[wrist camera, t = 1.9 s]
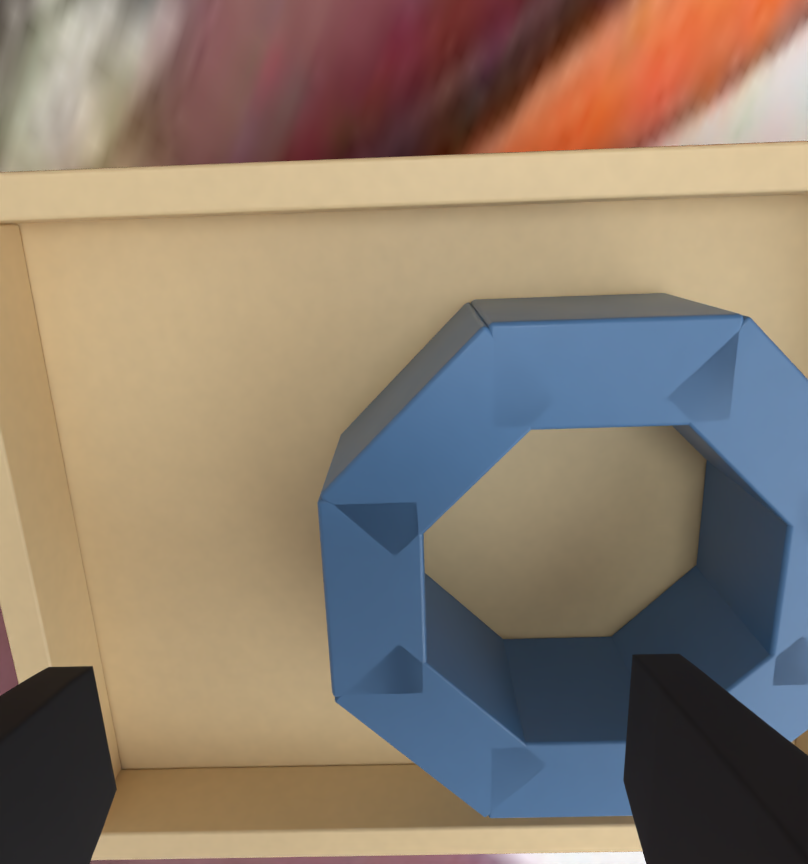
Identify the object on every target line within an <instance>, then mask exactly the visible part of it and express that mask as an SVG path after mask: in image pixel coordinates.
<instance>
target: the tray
mask: <svg viewBox="0 0 808 864" xmlns="http://www.w3.org/2000/svg"><path fill="white" fill-rule="evenodd" d="M649 293H666V294H669V295H673V296H677V297H680V298H684V299H688V300H691V301H695V302H699V303H702V304H706V305H710V306H713V307H717V308H720V309H724V310H728V311H731V312H735V313H739V314H741V315H744V316H748V317H750V318H752V320H753V321H754V322H755V323H756V324H757V325H758V326H759V327H760V328H761V329H762V330H763V331H764V332H765V334H766V335H767V336H768V337H769V338H770V339H771V340H772V341H773V342H774V343H775V344H776V345H777V347H778V348H779V349H780V350H781V351H782V352H783V353H784V354H785V355H786V356H787V357H788V358H789V359H790V361H791V362H792V363H793V364H794V365H795V366H796V367H797V368H798V369H799V370H800V371H801V372H802V374H803V375H804V376H805V377H806V378H807V379H808V141H791V142H765V143H739V144H714V145H688V146H662V147H637V148H611V149H585V150H559V151H534V152H508V153H482V154H456V155H431V156H405V157H379V158H353V159H328V160H302V161H276V162H251V163H225V164H199V165H173V166H148V167H122V168H96V169H70V170H45V171H19V172H0V606H1V610H2V614H3V619H4V623H5V627H6V632H7V636H8V640H9V645H10V649H11V653H12V657H13V662H14V666H15V670H16V675H17V679H18V683H19V684H20V683H22V682H23V681H25V680H27V679H28V678H30V677H32V676H33V675H35V674H37V673H39V672H40V671H42V670H44V669H46V668H47V667H70V666H93V670H94V675H95V680H96V685H97V690H98V695H99V700H100V705H101V711H102V716H103V721H104V726H105V731H106V736H107V741H108V746H109V752H110V757H111V762H112V767H113V772H114V777H115V782H116V787H117V790H116V793H115V796H114V799H113V801H112V804H111V807H110V810H109V813H108V815H107V818H106V821H105V824H104V827H103V830H102V832H101V835H100V838H99V840H98V843H97V845H96V848H95V850H94V853H93V856H92V858H91V860H131V859H194V858H257V857H320V856H383V855H446V854H510V853H573V852H636V851H643V850H642V847H641V844H640V840H639V837H638V833H637V830H636V826H635V823H634V819H633V816H597V817H538V818H489V816H487V817H483V816H482V815H481V814H480V813H478V812H477V811H476V810H474V809H473V808H472V807H470V806H469V805H468V804H467V803H465V802H464V801H463V800H461V799H460V798H459V797H458V796H456V795H455V794H454V793H452V792H451V791H450V790H449V789H447V788H446V787H445V786H443V785H442V784H441V783H439V782H438V781H437V780H436V779H434V778H433V777H432V776H430V775H429V774H428V773H427V772H425V771H424V770H423V769H421V768H420V767H419V766H418V765H416V764H415V763H414V762H412V761H411V760H410V759H408V758H407V757H406V756H405V755H403V754H402V753H401V752H399V751H398V750H397V749H396V748H394V747H393V746H392V745H390V744H389V743H388V742H387V741H385V740H384V739H383V738H381V737H380V736H379V735H378V734H376V733H375V732H374V731H372V730H371V729H370V728H368V727H367V726H366V725H365V724H363V723H362V722H361V721H359V720H358V719H357V718H356V717H354V716H353V715H352V714H350V713H349V712H348V711H347V710H345V709H344V708H343V707H341V706H340V705H339V704H337V703H336V702H335V696H334V695H333V693H332V686H331V673H330V660H329V648H328V635H327V622H326V609H325V596H324V583H323V570H322V557H321V544H320V531H319V518H318V505H317V502H318V500H319V497H320V494H321V491H322V488H323V485H324V482H325V479H326V476H327V473H328V470H329V468H330V465H331V462H332V459H333V456H334V453H335V450H336V447H337V444H338V442H339V439H340V436H341V434H342V433H343V432H344V431H345V430H346V429H347V428H348V427H349V426H350V424H351V423H352V422H353V421H354V420H355V419H356V418H357V417H358V416H359V415H360V414H361V413H362V412H363V411H364V410H365V409H366V408H367V407H368V405H369V404H370V403H371V402H372V401H373V400H374V399H375V398H376V397H377V396H378V395H379V394H380V393H381V392H382V391H383V390H384V389H385V388H386V387H387V385H388V384H389V383H390V382H391V381H392V380H393V379H394V378H395V377H396V376H397V375H398V374H399V373H400V372H401V371H402V370H403V369H404V368H405V367H406V365H407V364H408V363H409V362H410V361H411V360H412V359H413V358H414V357H415V356H416V355H417V354H418V353H419V352H420V351H421V350H422V349H423V348H424V347H425V345H426V344H427V343H428V342H429V341H430V340H431V339H432V338H433V337H434V336H435V335H436V334H437V333H438V332H439V331H440V330H441V329H442V328H443V327H444V325H445V324H446V323H447V322H448V321H449V320H450V319H451V318H452V317H453V316H454V315H455V314H456V313H457V312H458V311H459V310H460V309H461V308H462V307H463V305H464V304H466V303H471V302H472V301H473V300H475V299H503V298H532V297H561V296H591V295H620V294H649ZM706 462H707V460H706V459H705V458H704V457H703V456H702V455H701V454H700V453H699V452H698V451H697V450H696V449H695V448H694V447H693V446H692V445H691V444H690V443H689V442H688V441H687V440H686V439H685V438H684V437H683V436H682V435H681V434H680V433H679V432H678V431H677V430H676V429H675V428H674V427H673V426H644V427H610V428H576V429H543V430H530V431H529V432H528V433H527V434H526V435H525V436H524V437H523V438H522V439H521V440H520V441H519V442H518V443H517V444H516V445H515V446H514V447H513V448H512V449H511V450H510V451H509V452H508V453H507V454H506V455H504V456H503V457H502V458H501V459H500V460H499V461H498V462H497V463H496V464H495V465H494V466H493V467H492V468H491V469H490V470H489V471H488V472H487V473H486V474H485V475H484V476H483V477H482V478H481V479H480V480H479V481H478V482H477V483H476V484H474V485H473V486H472V487H471V488H470V489H469V490H468V491H467V492H466V493H465V494H464V495H463V496H462V497H461V498H460V499H459V500H458V501H457V502H456V503H455V504H454V505H453V506H452V507H451V508H450V509H449V510H448V511H447V512H445V513H444V514H443V515H442V516H441V517H440V518H439V519H438V520H437V521H436V522H435V523H434V524H433V525H432V526H431V527H430V528H429V529H428V530H427V531H426V532H425V533H424V565H425V573H426V574H427V575H428V576H429V577H430V578H432V579H433V580H434V581H435V582H436V583H438V584H439V585H440V586H441V587H442V588H443V589H445V590H446V591H447V592H448V593H449V594H450V595H452V596H453V597H454V598H455V599H456V600H458V601H459V602H460V603H461V604H462V605H463V606H465V607H466V608H467V609H468V610H469V611H470V612H472V613H473V614H474V615H475V616H476V617H478V618H479V619H480V620H481V621H482V622H483V623H485V624H486V625H487V626H488V627H489V628H490V629H492V630H493V631H494V632H495V633H496V634H498V635H499V636H500V637H501V638H502V639H529V638H572V637H611V636H613V635H614V634H615V633H616V632H617V631H618V630H620V629H621V628H622V627H623V626H624V625H626V624H627V623H628V622H629V621H630V620H632V619H633V618H634V617H635V616H636V615H637V614H639V613H640V612H641V611H642V610H643V609H645V608H646V607H647V606H648V605H649V604H650V603H652V602H653V601H654V600H655V599H656V598H658V597H659V596H660V595H661V594H662V593H664V592H665V591H666V590H667V589H668V588H669V587H671V586H672V585H673V584H674V583H675V582H677V581H678V580H679V579H680V578H681V577H682V576H684V575H685V574H686V573H687V572H688V571H690V570H691V569H692V568H693V567H694V566H696V564H697V554H698V544H699V533H700V523H701V513H702V503H703V493H704V482H705V472H706ZM791 743H793V744H794V745H795V746H796V747H798V748H799V749H800V750H802V751H803V752H804V753H805V754H807V755H808V730H807V731H806V732H804V733H803V734H801V735H800V736H799V737H797V738H796V739H795V740H793V741H792V742H791Z"/></svg>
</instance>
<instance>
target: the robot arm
mask: <svg viewBox="0 0 808 864" xmlns="http://www.w3.org/2000/svg"><path fill="white" fill-rule="evenodd" d="M623 781H624V785H625V789H626V793H627V796H628V800H629V804H630V808H631V811H632V815H633V819H634V823H635V826H636V830H637V833H638V837H639V840H640V844H641V847H642V850H643V854H644V857H645V861H646V864H808V755H807V754H805V753H804V752H803V751H802V750H800V749H799V748H798V747H796V746H795V745H794V744H793V743H791V742H790V741H789V740H787V739H786V738H785V737H784V736H782V735H781V734H780V733H779V732H777V731H776V730H775V729H773V728H772V727H771V726H770V725H768V724H767V723H766V722H765V721H763V720H762V719H761V718H760V717H758V716H757V715H756V714H755V713H753V712H752V711H751V710H750V709H748V708H747V707H746V706H745V705H743V704H742V703H741V702H740V701H738V700H737V699H736V698H735V697H734V696H732V695H731V694H730V693H729V692H727V691H726V690H725V689H724V688H722V687H721V686H720V685H719V684H717V683H716V682H715V681H714V680H713V679H711V678H710V677H709V676H708V675H706V674H705V673H704V672H703V671H701V670H700V669H699V668H698V667H696V666H695V665H694V664H692V663H691V662H690V661H688V660H687V659H686V658H684V657H683V656H682V655H680V654H634V655H632V667H631V681H630V694H629V708H628V722H627V736H626V750H625V764H624V778H623ZM116 790H117V787H116V782H115V777H114V772H113V767H112V762H111V757H110V752H109V746H108V741H107V736H106V731H105V726H104V721H103V716H102V711H101V705H100V700H99V695H98V690H97V685H96V680H95V675H94V670H93V666H70V667H47V668H46V669H44V670H42V671H40V672H39V673H37V674H35V675H33V676H32V677H30V678H28V679H27V680H25V681H23V682H22V683H20V684H19V685H17V686H15V687H14V688H12V689H11V690H9V691H7V692H6V693H4V694H3V695H1V696H0V864H89V863H90V861H91V858H92V856H93V853H94V850H95V848H96V845H97V843H98V840H99V838H100V835H101V832H102V830H103V827H104V824H105V821H106V818H107V815H108V813H109V810H110V807H111V804H112V801H113V799H114V796H115V793H116Z"/></svg>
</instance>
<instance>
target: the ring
mask: <svg viewBox="0 0 808 864" xmlns="http://www.w3.org/2000/svg"><path fill="white" fill-rule="evenodd" d="M644 426H673V427H674V428H675V429H676V430H677V431H678V432H679V433H680V434H681V435H682V436H683V437H684V438H685V439H686V440H687V441H688V442H689V443H690V444H691V445H692V446H693V447H694V448H695V449H696V450H697V451H698V452H699V453H700V454H701V455H702V456H703V457H704V458H705V459H706V460H707V462H706V472H705V482H704V493H703V503H702V513H701V523H700V533H699V544H698V554H697V564H696V566H694V567H693V568H692V569H691V570H690V571H688V572H687V573H686V574H685V575H684V576H682V577H681V578H680V579H679V580H678V581H677V582H675V583H674V584H673V585H672V586H671V587H669V588H668V589H667V590H666V591H665V592H664V593H662V594H661V595H660V596H659V597H658V598H656V599H655V600H654V601H653V602H652V603H650V604H649V605H648V606H647V607H646V608H645V609H643V610H642V611H641V612H640V613H639V614H637V615H636V616H635V617H634V618H633V619H632V620H630V621H629V622H628V623H627V624H626V625H624V626H623V627H622V628H621V629H620V630H618V631H617V632H616V633H615V634H614V635H613V636H611V637H572V638H529V639H502V638H501V637H500V636H499V635H498V634H496V633H495V632H494V631H493V630H492V629H490V628H489V627H488V626H487V625H486V624H485V623H483V622H482V621H481V620H480V619H479V618H478V617H476V616H475V615H474V614H473V613H472V612H470V611H469V610H468V609H467V608H466V607H465V606H463V605H462V604H461V603H460V602H459V601H458V600H456V599H455V598H454V597H453V596H452V595H450V594H449V593H448V592H447V591H446V590H445V589H443V588H442V587H441V586H440V585H439V584H438V583H436V582H435V581H434V580H433V579H432V578H430V577H429V576H428V575H427V574H426V573H425V565H424V533H425V532H426V531H427V530H428V529H429V528H430V527H431V526H432V525H433V524H434V523H435V522H436V521H437V520H438V519H439V518H440V517H441V516H442V515H443V514H444V513H445V512H447V511H448V510H449V509H450V508H451V507H452V506H453V505H454V504H455V503H456V502H457V501H458V500H459V499H460V498H461V497H462V496H463V495H464V494H465V493H466V492H467V491H468V490H469V489H470V488H471V487H472V486H473V485H474V484H476V483H477V482H478V481H479V480H480V479H481V478H482V477H483V476H484V475H485V474H486V473H487V472H488V471H489V470H490V469H491V468H492V467H493V466H494V465H495V464H496V463H497V462H498V461H499V460H500V459H501V458H502V457H503V456H504V455H506V454H507V453H508V452H509V451H510V450H511V449H512V448H513V447H514V446H515V445H516V444H517V443H518V442H519V441H520V440H521V439H522V438H523V437H524V436H525V435H526V434H527V433H528V432H529V431H530V430H543V429H576V428H610V427H644ZM317 505H318V518H319V531H320V544H321V557H322V570H323V583H324V596H325V609H326V622H327V635H328V648H329V660H330V673H331V686H332V693H333V695H334V696H335V702H336V703H337V704H339V705H340V706H341V707H343V708H344V709H345V710H347V711H348V712H349V713H350V714H352V715H353V716H354V717H356V718H357V719H358V720H359V721H361V722H362V723H363V724H365V725H366V726H367V727H368V728H370V729H371V730H372V731H374V732H375V733H376V734H378V735H379V736H380V737H381V738H383V739H384V740H385V741H387V742H388V743H389V744H390V745H392V746H393V747H394V748H396V749H397V750H398V751H399V752H401V753H402V754H403V755H405V756H406V757H407V758H408V759H410V760H411V761H412V762H414V763H415V764H416V765H418V766H419V767H420V768H421V769H423V770H424V771H425V772H427V773H428V774H429V775H430V776H432V777H433V778H434V779H436V780H437V781H438V782H439V783H441V784H442V785H443V786H445V787H446V788H447V789H449V790H450V791H451V792H452V793H454V794H455V795H456V796H458V797H459V798H460V799H461V800H463V801H464V802H465V803H467V804H468V805H469V806H470V807H472V808H473V809H474V810H476V811H477V812H478V813H480V814H481V815H482V816H483V817H487V816H489V818H538V817H597V816H633V815H632V811H631V808H630V804H629V800H628V796H627V793H626V789H625V785H624V781H623V778H624V764H625V750H626V736H627V722H628V708H629V694H630V681H631V667H632V655H634V654H680V655H682V656H683V657H684V658H686V659H687V660H688V661H690V662H691V663H692V664H694V665H695V666H696V667H698V668H699V669H700V670H701V671H703V672H704V673H705V674H706V675H708V676H709V677H710V678H711V679H713V680H714V681H715V682H716V683H717V684H719V685H720V686H721V687H722V688H724V689H725V690H726V691H727V692H729V693H730V694H731V695H732V696H734V697H735V698H736V699H737V700H738V701H740V702H741V703H742V704H743V705H745V706H746V707H747V708H748V709H750V710H751V711H752V712H753V713H755V714H756V715H757V716H758V717H760V718H761V719H762V720H763V721H765V722H766V723H767V724H768V725H770V726H771V727H772V728H773V729H775V730H776V731H777V732H779V733H780V734H781V735H782V736H784V737H785V738H786V739H787V740H789V741H790V742H792V741H793V740H795V739H796V738H797V737H799V736H800V735H801V734H803V733H804V732H806V731H807V730H808V379H807V378H806V377H805V376H804V375H803V374H802V372H801V371H800V370H799V369H798V368H797V367H796V366H795V365H794V364H793V363H792V362H791V361H790V359H789V358H788V357H787V356H786V355H785V354H784V353H783V352H782V351H781V350H780V349H779V348H778V347H777V345H776V344H775V343H774V342H773V341H772V340H771V339H770V338H769V337H768V336H767V335H766V334H765V332H764V331H763V330H762V329H761V328H760V327H759V326H758V325H757V324H756V323H755V322H754V321H753V320H752V318H750V317H748V316H744V315H741V314H739V313H735V312H731V311H728V310H724V309H720V308H717V307H713V306H710V305H706V304H702V303H699V302H695V301H691V300H688V299H684V298H680V297H677V296H673V295H669V294H666V293H649V294H620V295H591V296H561V297H532V298H503V299H475V300H473V301H472V302H471V303H466V304H464V305H463V307H462V308H461V309H460V310H459V311H458V312H457V313H456V314H455V315H454V316H453V317H452V318H451V319H450V320H449V321H448V322H447V323H446V324H445V325H444V327H443V328H442V329H441V330H440V331H439V332H438V333H437V334H436V335H435V336H434V337H433V338H432V339H431V340H430V341H429V342H428V343H427V344H426V345H425V347H424V348H423V349H422V350H421V351H420V352H419V353H418V354H417V355H416V356H415V357H414V358H413V359H412V360H411V361H410V362H409V363H408V364H407V365H406V367H405V368H404V369H403V370H402V371H401V372H400V373H399V374H398V375H397V376H396V377H395V378H394V379H393V380H392V381H391V382H390V383H389V384H388V385H387V387H386V388H385V389H384V390H383V391H382V392H381V393H380V394H379V395H378V396H377V397H376V398H375V399H374V400H373V401H372V402H371V403H370V404H369V405H368V407H367V408H366V409H365V410H364V411H363V412H362V413H361V414H360V415H359V416H358V417H357V418H356V419H355V420H354V421H353V422H352V423H351V424H350V426H349V427H348V428H347V429H346V430H345V431H344V432H343V433H342V434H341V436H340V439H339V442H338V444H337V447H336V450H335V453H334V456H333V459H332V462H331V465H330V468H329V470H328V473H327V476H326V479H325V482H324V485H323V488H322V491H321V494H320V497H319V500H318V502H317Z"/></svg>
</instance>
